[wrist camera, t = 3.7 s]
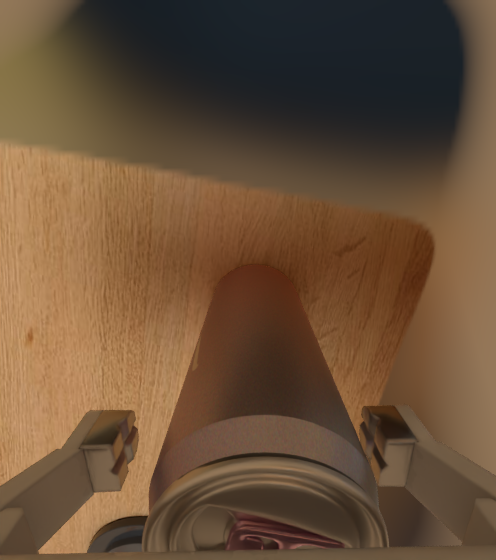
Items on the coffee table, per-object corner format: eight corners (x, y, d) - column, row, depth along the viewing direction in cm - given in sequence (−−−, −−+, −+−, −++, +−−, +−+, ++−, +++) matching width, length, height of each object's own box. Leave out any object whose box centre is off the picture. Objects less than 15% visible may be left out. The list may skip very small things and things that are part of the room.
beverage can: (284, 346, 22) (347, 649, 8) (206, 330, 22) (120, 616, 7) (307, 272, 20) (445, 489, 6) (222, 253, 20) (148, 435, 5)
